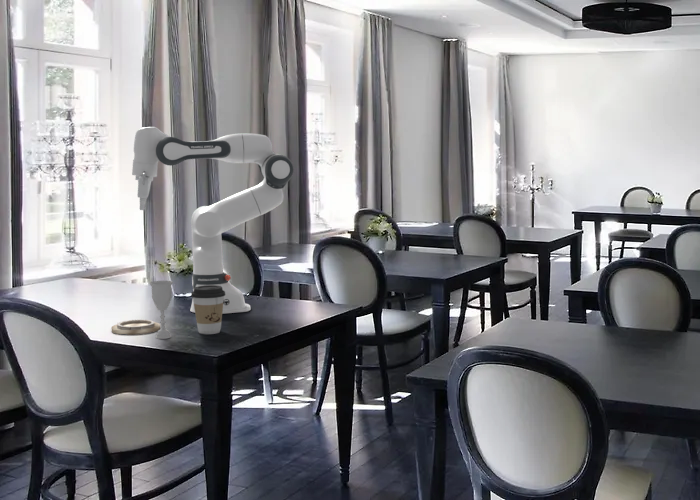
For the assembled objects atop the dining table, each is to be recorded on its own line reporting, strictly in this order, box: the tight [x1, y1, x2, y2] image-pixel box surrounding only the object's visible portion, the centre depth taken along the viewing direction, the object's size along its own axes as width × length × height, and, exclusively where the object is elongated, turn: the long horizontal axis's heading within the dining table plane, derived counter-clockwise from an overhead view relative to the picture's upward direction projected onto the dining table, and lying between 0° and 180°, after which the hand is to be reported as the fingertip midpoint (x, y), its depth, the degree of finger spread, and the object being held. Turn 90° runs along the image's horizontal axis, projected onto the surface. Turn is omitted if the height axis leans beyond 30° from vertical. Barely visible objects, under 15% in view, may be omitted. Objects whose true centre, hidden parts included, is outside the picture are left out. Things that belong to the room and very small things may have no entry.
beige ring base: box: [111, 318, 161, 336], centre depth 287 cm, size 16×16×2 cm
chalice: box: [149, 280, 174, 340], centre depth 274 cm, size 7×7×18 cm
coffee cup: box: [190, 285, 225, 335], centre depth 282 cm, size 11×11×15 cm
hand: (142, 209), depth 310 cm, fingers open, 8 cm apart
